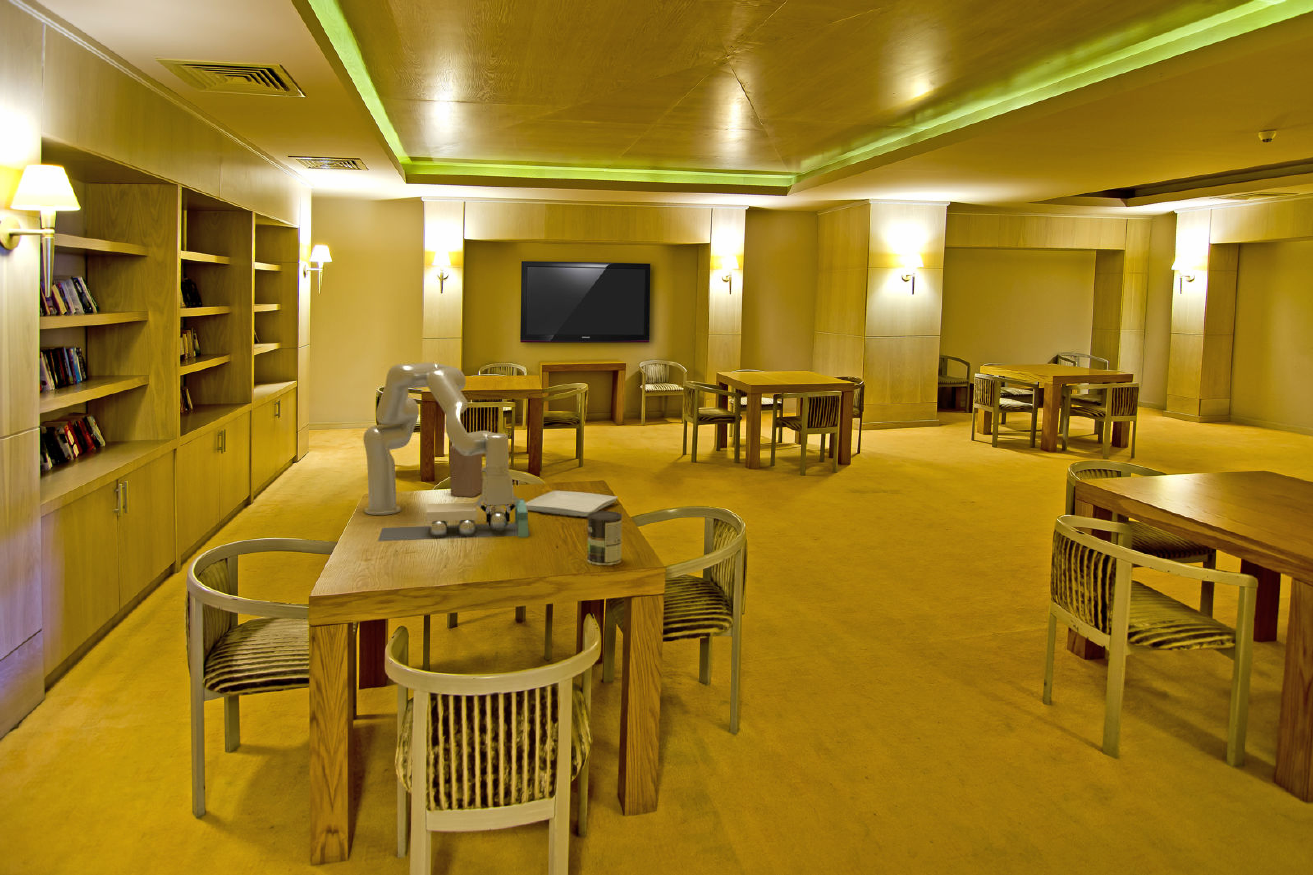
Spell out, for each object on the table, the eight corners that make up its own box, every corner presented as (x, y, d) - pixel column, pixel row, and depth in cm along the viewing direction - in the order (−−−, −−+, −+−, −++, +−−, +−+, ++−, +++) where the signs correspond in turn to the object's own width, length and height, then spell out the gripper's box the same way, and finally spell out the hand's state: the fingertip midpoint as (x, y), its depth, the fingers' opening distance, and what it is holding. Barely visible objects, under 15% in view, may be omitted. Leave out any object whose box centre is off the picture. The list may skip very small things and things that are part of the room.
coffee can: (587, 566, 271) (587, 519, 269) (587, 556, 282) (587, 511, 279) (622, 565, 272) (622, 519, 270) (620, 555, 282) (621, 510, 280)
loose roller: (489, 519, 316) (489, 505, 316) (504, 519, 317) (504, 504, 317) (491, 531, 301) (491, 516, 300) (506, 530, 302) (506, 515, 301)
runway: (382, 527, 312) (382, 503, 311) (526, 522, 322) (525, 498, 320) (377, 544, 292) (376, 517, 290) (530, 538, 301) (530, 512, 300)
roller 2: (460, 525, 315) (459, 511, 314) (474, 524, 316) (474, 510, 315) (459, 537, 299) (458, 522, 298) (475, 536, 300) (474, 521, 299)
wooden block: (473, 497, 360) (472, 447, 357) (449, 496, 362) (448, 446, 359) (483, 492, 369) (482, 443, 366) (460, 491, 371) (459, 442, 368)
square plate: (521, 513, 336) (521, 503, 336) (554, 499, 362) (554, 489, 361) (589, 521, 327) (589, 510, 326) (618, 505, 352) (619, 495, 352)
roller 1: (430, 523, 312) (435, 509, 312) (444, 528, 314) (449, 514, 313) (428, 535, 297) (433, 521, 297) (443, 540, 298) (448, 525, 298)
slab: (427, 512, 310) (427, 504, 309) (476, 511, 313) (476, 502, 313) (426, 521, 298) (426, 512, 298) (476, 519, 301) (476, 510, 301)
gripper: (471, 473, 301) (472, 528, 304) (523, 472, 304) (524, 525, 307) (471, 469, 308) (472, 522, 311) (522, 468, 312) (523, 520, 314)
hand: (498, 523), depth 309 cm, fingers closed on loose roller, 5 cm apart
